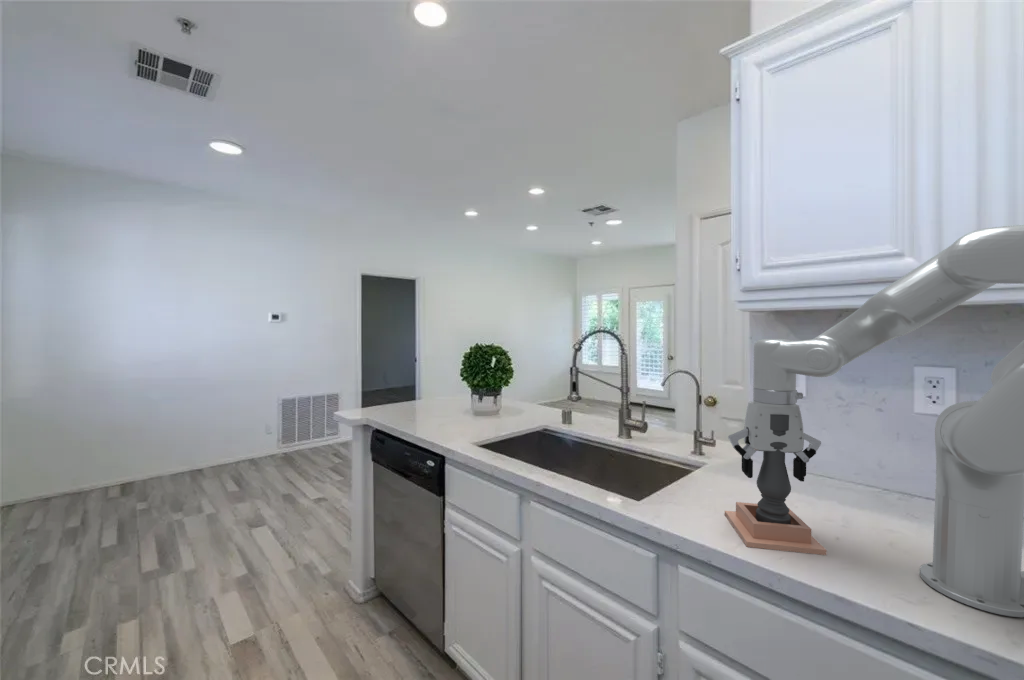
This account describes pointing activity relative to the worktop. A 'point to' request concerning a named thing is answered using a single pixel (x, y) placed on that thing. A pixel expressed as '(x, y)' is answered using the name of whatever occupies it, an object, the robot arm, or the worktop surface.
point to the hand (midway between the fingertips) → (773, 477)
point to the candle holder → (774, 478)
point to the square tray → (773, 531)
